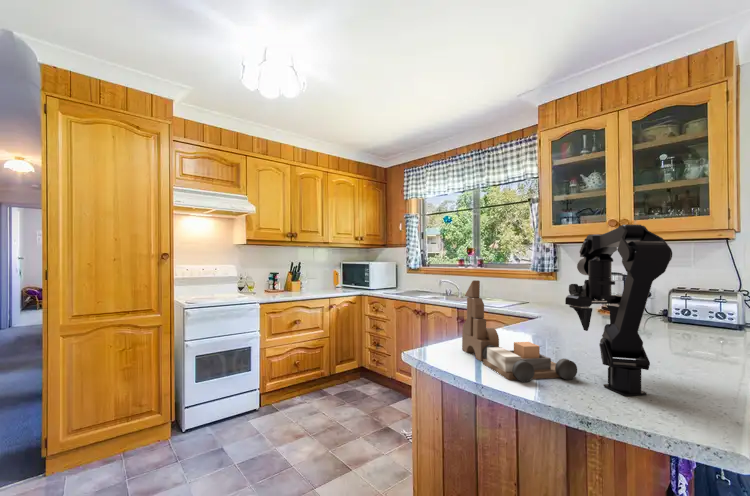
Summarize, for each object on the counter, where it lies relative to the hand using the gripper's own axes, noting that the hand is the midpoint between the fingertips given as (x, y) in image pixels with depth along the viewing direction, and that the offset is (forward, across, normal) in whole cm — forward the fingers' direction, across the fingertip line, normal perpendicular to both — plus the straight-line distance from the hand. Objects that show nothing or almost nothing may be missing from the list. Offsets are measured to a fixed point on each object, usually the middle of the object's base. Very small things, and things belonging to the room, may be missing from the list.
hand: (599, 330), depth 102 cm
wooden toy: (+12, +27, -21) cm, 36 cm away
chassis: (+12, +21, -4) cm, 25 cm away
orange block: (+10, +21, -4) cm, 24 cm away
